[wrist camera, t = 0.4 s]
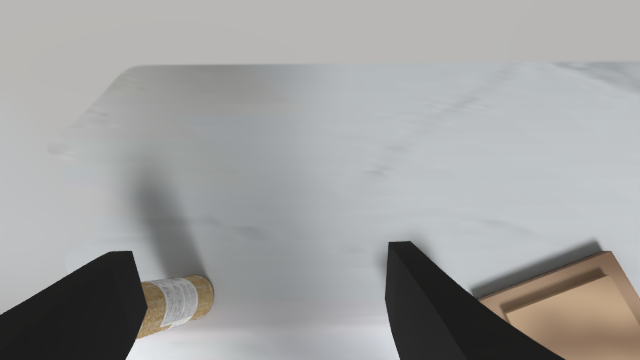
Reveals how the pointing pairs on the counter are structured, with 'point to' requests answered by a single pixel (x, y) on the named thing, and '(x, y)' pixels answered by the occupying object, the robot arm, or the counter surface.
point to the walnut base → (576, 310)
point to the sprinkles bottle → (174, 302)
